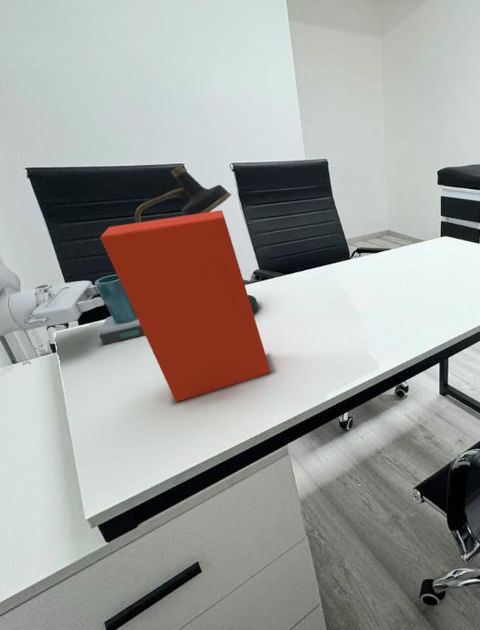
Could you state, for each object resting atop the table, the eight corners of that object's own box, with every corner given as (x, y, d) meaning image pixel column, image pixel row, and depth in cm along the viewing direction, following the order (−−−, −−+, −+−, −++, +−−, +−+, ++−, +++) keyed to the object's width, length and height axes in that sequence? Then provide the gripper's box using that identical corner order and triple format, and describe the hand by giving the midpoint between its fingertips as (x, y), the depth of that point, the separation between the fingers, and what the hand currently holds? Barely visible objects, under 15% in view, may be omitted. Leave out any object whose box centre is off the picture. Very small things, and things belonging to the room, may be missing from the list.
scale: (103, 345, 95) (96, 333, 93) (110, 328, 103) (105, 317, 102) (159, 332, 99) (153, 320, 98) (162, 316, 108) (157, 305, 106)
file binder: (271, 373, 79) (224, 217, 64) (176, 403, 72) (99, 236, 58) (265, 355, 85) (221, 209, 71) (178, 381, 79) (109, 226, 64)
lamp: (265, 317, 103) (221, 163, 85) (173, 339, 95) (105, 175, 78) (260, 296, 116) (222, 159, 98) (180, 314, 109) (122, 169, 91)
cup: (112, 326, 96) (92, 285, 91) (116, 316, 101) (97, 277, 96) (142, 319, 99) (124, 279, 94) (144, 310, 104) (128, 272, 99)
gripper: (12, 312, 80) (92, 296, 86) (44, 282, 97) (110, 270, 102) (28, 338, 83) (105, 321, 89) (57, 305, 100) (120, 292, 105)
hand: (107, 294), depth 96 cm, fingers open, 8 cm apart
